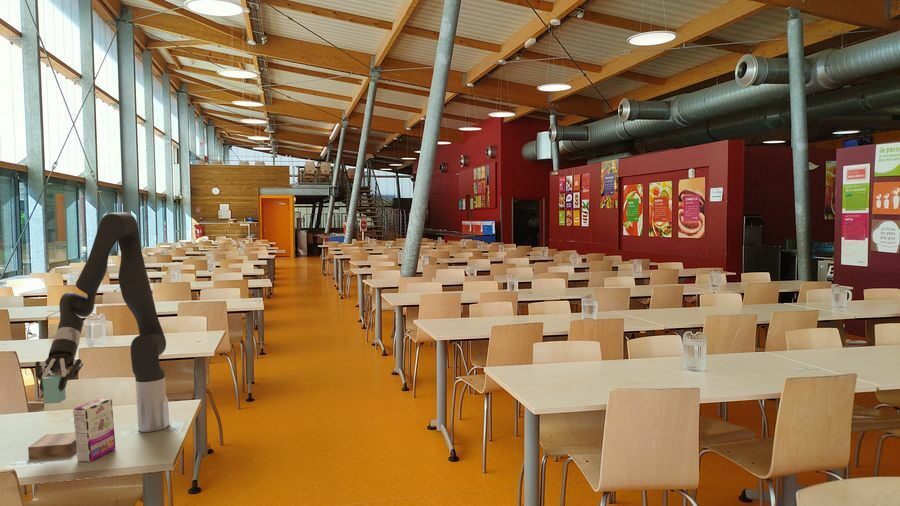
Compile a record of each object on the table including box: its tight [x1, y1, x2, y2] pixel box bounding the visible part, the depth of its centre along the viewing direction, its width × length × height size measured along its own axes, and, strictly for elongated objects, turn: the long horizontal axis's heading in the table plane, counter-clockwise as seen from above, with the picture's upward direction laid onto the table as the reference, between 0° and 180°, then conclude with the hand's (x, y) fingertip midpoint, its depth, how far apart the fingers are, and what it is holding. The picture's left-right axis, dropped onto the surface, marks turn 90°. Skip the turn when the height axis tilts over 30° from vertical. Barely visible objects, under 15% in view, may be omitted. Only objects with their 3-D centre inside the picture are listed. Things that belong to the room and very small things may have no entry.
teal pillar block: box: [42, 373, 67, 405], centre depth 208 cm, size 4×4×8 cm
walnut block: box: [27, 431, 77, 460], centre depth 209 cm, size 12×12×4 cm
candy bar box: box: [72, 397, 117, 463], centre depth 203 cm, size 11×5×16 cm, turn 168°
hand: (51, 389), depth 206 cm, fingers closed on teal pillar block, 4 cm apart
